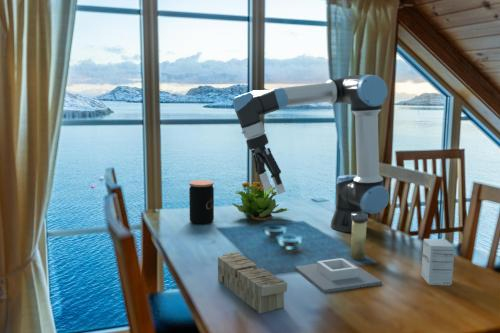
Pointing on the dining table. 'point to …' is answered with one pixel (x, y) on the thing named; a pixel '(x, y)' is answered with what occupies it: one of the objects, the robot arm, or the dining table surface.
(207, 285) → the dining table surface
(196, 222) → the coffee jar
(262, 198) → the potted flower
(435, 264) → the supplement box
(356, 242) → the lidded glass jar
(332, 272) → the socket plate
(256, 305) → the block tower
